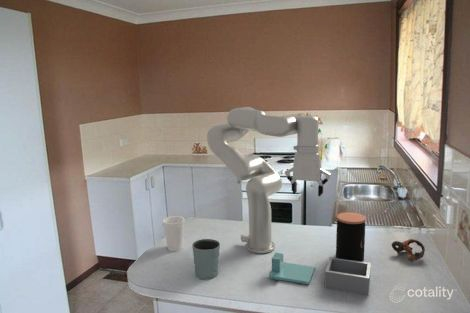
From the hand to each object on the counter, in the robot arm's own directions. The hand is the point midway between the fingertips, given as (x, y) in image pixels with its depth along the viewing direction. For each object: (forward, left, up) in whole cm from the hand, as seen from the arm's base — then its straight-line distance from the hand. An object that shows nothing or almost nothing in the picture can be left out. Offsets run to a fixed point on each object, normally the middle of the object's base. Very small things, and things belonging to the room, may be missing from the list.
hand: (307, 194), depth 143 cm
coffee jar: (+16, +7, -28) cm, 33 cm away
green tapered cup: (-33, -21, -28) cm, 48 cm away
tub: (+17, -13, -28) cm, 35 cm away
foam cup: (-56, -5, -28) cm, 63 cm away
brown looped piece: (+37, +18, -28) cm, 50 cm away
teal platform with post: (-3, -13, -28) cm, 31 cm away
